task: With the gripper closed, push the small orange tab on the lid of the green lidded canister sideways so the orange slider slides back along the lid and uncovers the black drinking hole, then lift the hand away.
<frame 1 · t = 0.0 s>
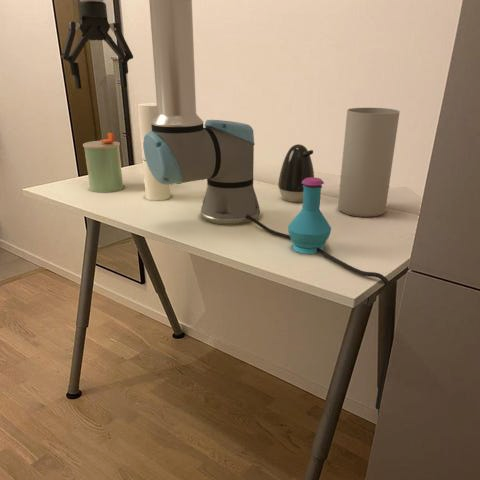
hand: (101, 87, 147), 28 cm above the table, tool pointing down, fingers open, 13 cm apart
green lidded canister: (106, 188, 156), on the table
lid slider: (107, 137, 150), point 15 cm above the table, slide at 0.0 cm
pump dispenser: (295, 200, 145), on the table
perfume bottle: (308, 249, 111), on the table
cylinder vase: (361, 211, 135), on the table
cylindrical container: (158, 197, 147), on the table
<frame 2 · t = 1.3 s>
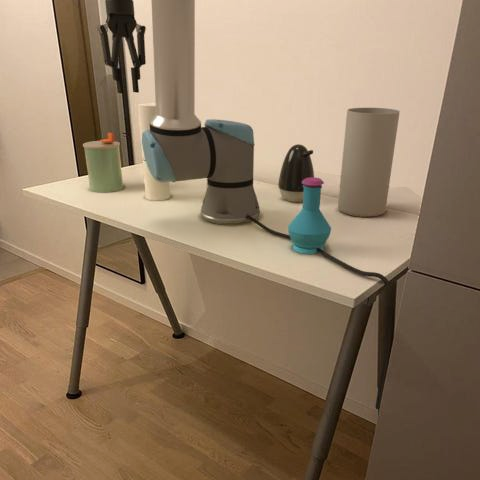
hand: (128, 92, 148), 27 cm above the table, tool pointing down, fingers open, 4 cm apart
nothing on the table moved.
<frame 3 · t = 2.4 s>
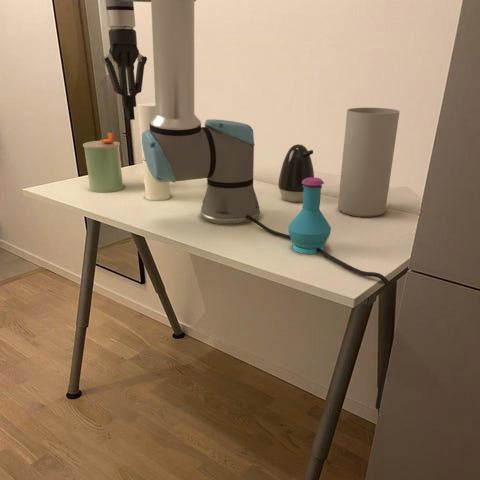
hand: (130, 119, 152), 19 cm above the table, tool pointing down, fingers closed
nothing on the table moved.
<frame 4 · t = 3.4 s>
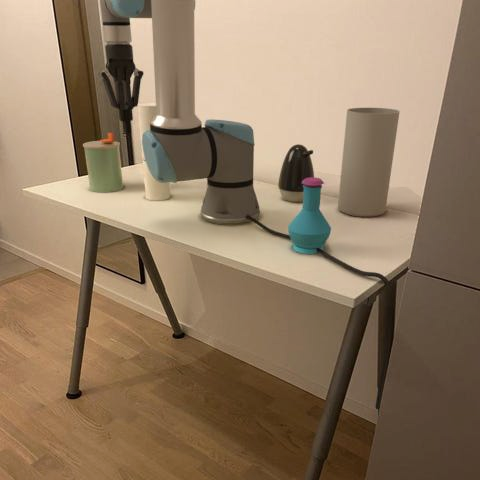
hand: (127, 132, 153), 16 cm above the table, tool pointing down, fingers closed
nothing on the table moved.
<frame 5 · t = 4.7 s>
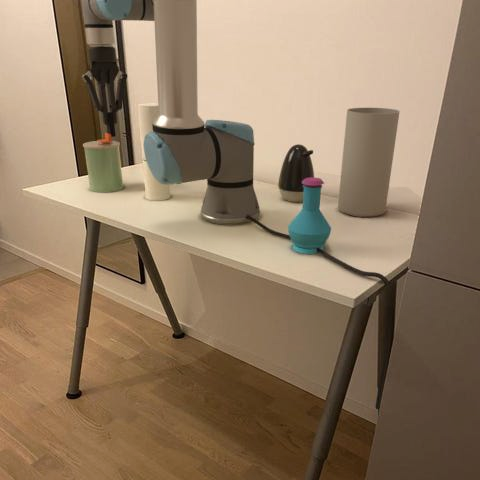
hand: (111, 135, 151), 15 cm above the table, tool pointing down, fingers closed
lid slider: (104, 137, 150), point 15 cm above the table, slide at 0.9 cm, touching gripper
everything else where it was.
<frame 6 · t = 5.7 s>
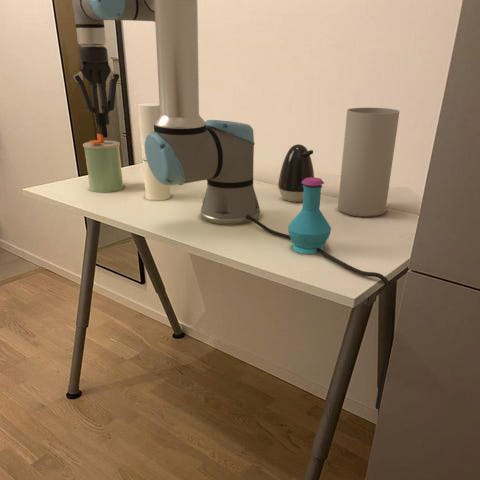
hand: (103, 136, 149), 15 cm above the table, tool pointing down, fingers closed
lid slider: (96, 138, 148), point 15 cm above the table, slide at 3.3 cm, touching gripper
everything else where it was.
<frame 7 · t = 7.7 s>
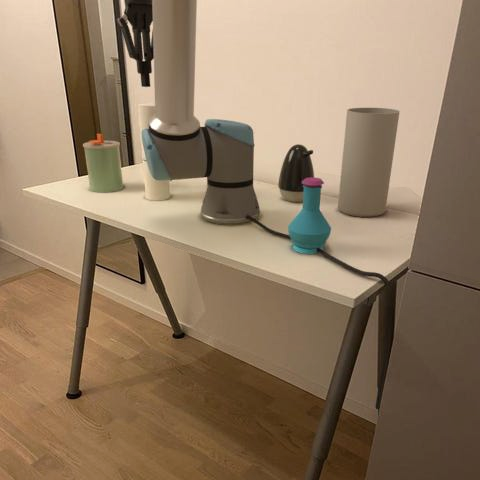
hand: (145, 86, 144), 29 cm above the table, tool pointing down, fingers closed
lid slider: (96, 138, 148), point 15 cm above the table, slide at 3.3 cm
everything else where it was.
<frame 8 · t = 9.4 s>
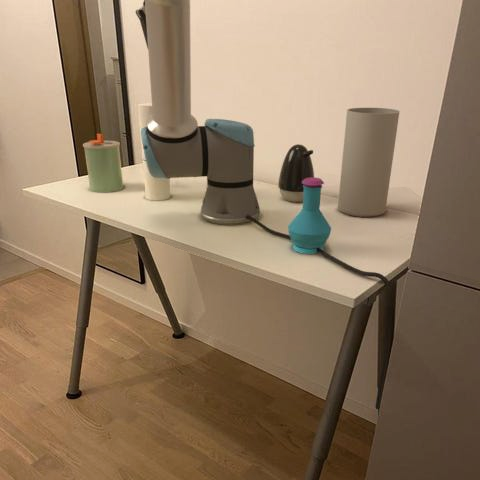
hand: (163, 79, 142), 30 cm above the table, tool pointing down, fingers closed
nothing on the table moved.
at the end: lid slider slide at 3.3 cm; cylindrical container moved 0.2 cm from its start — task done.
